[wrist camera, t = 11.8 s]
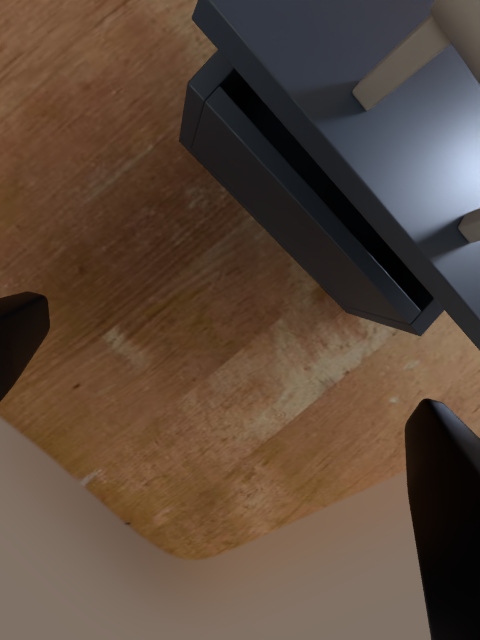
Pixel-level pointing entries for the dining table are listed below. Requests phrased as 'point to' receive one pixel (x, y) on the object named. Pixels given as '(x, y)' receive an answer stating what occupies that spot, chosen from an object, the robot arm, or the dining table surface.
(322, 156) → the lid
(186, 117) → the box
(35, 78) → the dining table surface
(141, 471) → the dining table surface
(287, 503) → the dining table surface
